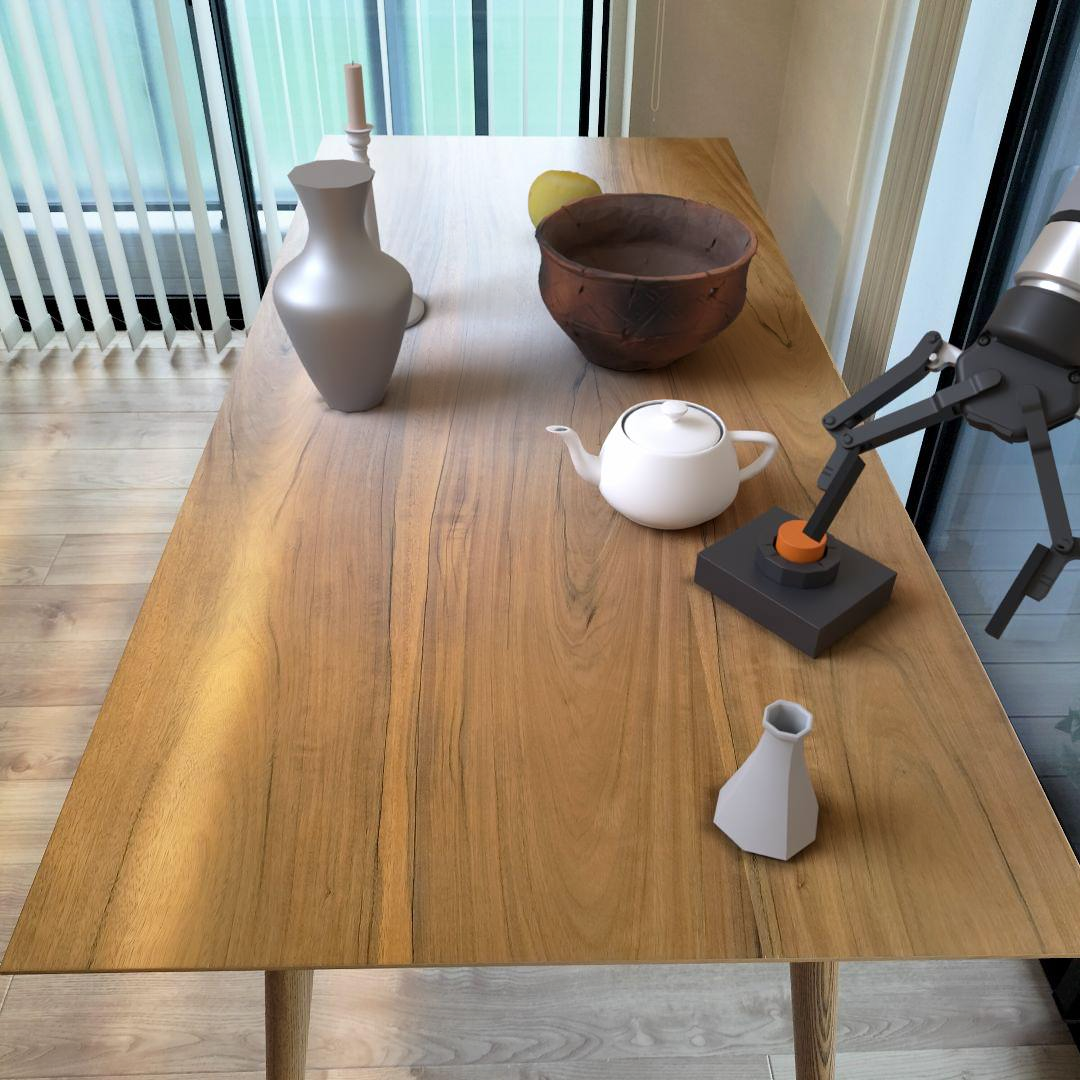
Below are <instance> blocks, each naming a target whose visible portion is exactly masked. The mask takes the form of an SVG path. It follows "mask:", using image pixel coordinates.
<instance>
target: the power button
mask: <svg viewBox="0 0 1080 1080" xmlns="http://www.w3.org/2000/svg"><path fill="white" fill-rule="evenodd" d="M803 520H804V519H802V520H793V521H788V522H786V523H784V524H782V525H781V527H780V528H779V531H778V537H777V542H776V550H777V552H778V554H779V555H780V556H782V557H784V558H786V559H787V560H789V561H793V562H798V563H803V564H807V563H815V562H817V561H819V560H820V559H821V558H822V557H823V554H824V549H825V545H826V540H827V536H826V533H825V535H824V537H823V538H822V540H821V542H820V543H818V542H816V541H814V540H813V539H811V538H809V537H808V536H807V535H805V534H804V533H803V532H802V531H803V529H804V527H805V526H806V524H807V522H808V521H809V520H804V521H803Z"/></svg>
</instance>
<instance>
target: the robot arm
mask: <svg viewBox="0 0 1080 1080" xmlns="http://www.w3.org/2000/svg"><path fill="white" fill-rule="evenodd" d="M1013 283H1014V286H1013V287H1011V288H1008V289H1006V290H1005V292H1004V293H1003V295H1002V296H1001V298H1000V300H999V301H998V303H997V305H996V307H995V308H994V310H993V312H992V313H991V315H990V316H989V318H988V320H987V322H986V324H985V325H984V327H983V328H982V330H981V332H980V333H979V334H978V337H977V338H976V340H975V341H974V343H972V345H971V346H969V347H968V348H967V349H965V350H961V349H960V348H958V347H957V346H954V345H953V344H951V343H949V342H947V341H945V340H944V339H943V338H942V334H941V333H940V332H939V331H936V330H929V331H927V332H926V333H925V334H924V335H923V337H922V338H921V339H920V340H919V342H918V343H917V345H916V346H915V347H914V349H913V350H912V351H911V352H910V354H908V356H906V357H905V358H903V359H901V360H900V361H899V362H898V363H896V364H895V365H893V366H892V367H890V368H889V369H888V370H886V371H884V372H883V373H881V375H879V376H878V377H876V378H875V379H874V380H872V381H871V382H869V383H868V384H866V385H865V386H864V387H862V388H861V389H859V390H858V391H857V392H855V393H853V394H852V395H851V396H850V397H848V398H846V399H845V400H844V401H842V402H841V403H840V404H838V405H837V406H835V407H834V408H832V409H831V410H829V411H828V412H827V413H825V414H824V415H823V416H822V418H821V424H822V427H823V428H824V429H825V430H826V431H827V433H828V434H829V436H831V437H832V438H833V439H834V441H835V448H834V450H833V451H832V454H831V455H830V456H829V459H828V460H827V462H826V464H825V466H824V467H823V468H822V471H820V474H819V476H818V477H817V481H816V487H817V488H818V489H819V490H820V491H822V492H824V493H823V495H822V497H821V498H820V500H819V502H818V504H817V505H816V507H815V508H814V511H812V514H811V516H810V517H809V519H808V520H807V521H808V522H807V524H806V526H805V527H804V529H803V531H802V532H803V533H804V534H805V535H807V536H808V537H809V538H811V539H813V540H814V541H816V542H818V543H820V542H821V540H822V538H823V537H824V535H825V533H826V532H828V531H829V528H830V527H831V525H832V523H833V522H834V521H835V519H836V516H837V515H838V514H839V512H840V510H841V508H842V507H843V505H844V503H845V501H846V500H847V498H848V496H849V495H850V493H851V491H852V489H853V488H854V486H855V484H856V483H857V481H858V480H859V477H860V476H861V475H862V472H863V471H864V469H865V468H866V466H867V464H866V463H865V461H864V460H863V459H862V457H861V456H860V455H862V454H865V453H868V452H870V451H873V450H874V449H877V448H879V447H882V446H885V445H887V444H890V443H892V442H894V441H897V440H900V439H902V438H904V437H907V436H910V435H912V434H915V433H917V432H920V431H922V430H925V429H927V428H930V427H933V426H934V425H937V424H939V423H943V422H951V421H953V420H955V419H958V418H960V417H963V419H964V420H965V421H966V422H967V423H968V426H970V427H972V428H974V429H977V430H979V431H984V432H989V433H993V434H994V436H996V437H997V438H999V439H1000V440H1001V441H1004V442H1005V443H1008V444H1010V445H1013V444H1023V443H1026V442H1028V444H1029V447H1030V448H1029V449H1030V453H1031V457H1032V462H1033V466H1034V470H1035V474H1036V478H1037V484H1038V487H1039V491H1040V497H1041V500H1042V504H1043V505H1042V506H1043V510H1044V513H1045V518H1046V521H1047V527H1048V531H1049V535H1050V539H1051V545H1050V547H1048V546H1046V545H1044V544H1042V543H1040V542H1037V543H1036V544H1035V546H1034V548H1033V550H1032V551H1031V553H1030V554H1029V556H1028V558H1027V560H1026V561H1025V562H1024V564H1023V566H1022V567H1021V569H1020V571H1019V573H1017V576H1016V577H1015V578H1014V581H1013V582H1012V584H1011V585H1010V587H1009V589H1008V591H1007V592H1006V594H1005V595H1004V597H1003V599H1002V600H1001V601H1000V603H999V605H998V607H997V608H996V610H995V611H994V613H993V615H992V616H991V618H990V619H989V622H988V623H987V625H986V626H985V628H984V630H983V631H984V632H985V633H986V634H987V635H988V636H990V637H992V638H994V639H996V640H998V641H1000V638H1001V636H1002V635H1003V633H1004V632H1005V630H1006V628H1007V627H1008V625H1009V624H1010V622H1011V620H1012V619H1013V617H1014V615H1015V613H1016V612H1017V611H1018V609H1019V608H1020V605H1021V604H1022V603H1023V600H1024V599H1025V597H1026V596H1027V598H1028V597H1029V598H1030V599H1032V600H1035V601H1036V602H1038V603H1040V602H1041V601H1043V600H1044V599H1045V598H1047V597H1048V595H1049V593H1050V592H1051V590H1052V589H1053V587H1054V585H1055V583H1056V582H1057V580H1058V579H1059V577H1060V575H1061V574H1062V572H1063V570H1064V569H1065V567H1066V565H1067V564H1068V563H1071V562H1073V561H1079V560H1080V537H1079V536H1073V533H1072V528H1071V524H1070V520H1069V515H1068V512H1067V507H1066V503H1065V502H1066V501H1065V498H1064V495H1063V490H1062V485H1061V481H1060V477H1059V472H1058V469H1057V465H1056V459H1055V456H1054V452H1053V451H1054V450H1053V448H1052V443H1051V438H1050V433H1049V432H1051V431H1054V430H1055V429H1057V428H1060V427H1061V426H1065V425H1066V424H1068V423H1071V422H1072V421H1074V420H1075V419H1076V420H1078V421H1080V166H1079V167H1078V168H1077V170H1076V172H1075V173H1074V175H1073V177H1072V179H1071V180H1070V182H1069V184H1068V186H1067V187H1066V189H1065V191H1064V193H1063V194H1062V196H1061V198H1060V199H1059V201H1058V202H1057V204H1056V207H1055V208H1054V210H1053V211H1052V213H1051V215H1050V217H1049V218H1048V220H1047V222H1046V224H1045V225H1044V227H1043V228H1042V230H1041V232H1040V233H1039V235H1038V237H1037V238H1036V240H1035V242H1034V243H1033V244H1032V246H1031V248H1030V249H1029V252H1028V253H1027V254H1026V256H1025V258H1024V259H1023V261H1022V262H1021V265H1020V266H1019V268H1018V269H1017V270H1016V273H1015V274H1014V276H1013ZM947 367H953V368H954V373H955V380H956V382H955V384H952V385H949V386H946V387H945V388H943V389H940V390H938V391H936V392H934V393H933V395H931V396H929V397H927V398H924V399H922V400H920V401H917V402H914V403H912V404H909V405H907V406H904V407H902V408H900V409H898V410H894V411H893V412H890V413H888V414H885V415H883V416H881V417H878V418H876V419H874V420H871V421H868V422H865V423H864V424H861V423H863V422H864V421H866V420H867V419H869V418H870V417H871V416H873V415H874V414H876V413H877V412H879V411H880V410H882V409H883V408H885V407H886V406H888V405H889V404H890V403H892V402H893V401H894V400H896V399H898V397H900V396H901V395H903V394H904V393H906V392H908V391H909V390H911V389H912V388H914V386H916V385H917V384H918V383H919V384H920V382H921V381H923V380H924V379H925V378H926V377H928V375H930V373H931V372H932V373H934V374H935V373H939V372H942V371H943V370H944V369H945V368H947ZM860 424H861V425H860ZM858 425H859V426H858Z"/></svg>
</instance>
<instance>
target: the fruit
mask: <svg viewBox="0 0 1080 1080" xmlns="http://www.w3.org/2000/svg"><path fill="white" fill-rule="evenodd" d="M597 194H603V192H602V188H601V187H600V184H598V182H597V181H596V180H594V179H593V178H591V177H590V176H588V175H585V174H583V173H580V172H578V171H572V170H562V169H561V170H559V169H558V170H557V169H556V170H555V169H550V170H546V171H544V172H542V173H541V174H540V175H538V176H537V177H536V178H535V179H534V180H533V182H532V183H531V185H530V187H529V191H528V194H527V195H528V196H527V212H528V216H529V219H530V222H531V223H532V225H533V226H534V228H535V229H536V228H537V226H538V224H539V223H540V222H541V220H542V219H543V218H544V217H546V216H547V215H548V214H550V213H551V212H553V211H555V210H557V209H559V208H561V206H563V205H565V204H567V203H568V202H570V201H572V200H575V199H578V198H584V197H587V196H590V195H597Z"/></svg>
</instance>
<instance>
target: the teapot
mask: <svg viewBox="0 0 1080 1080" xmlns="http://www.w3.org/2000/svg"><path fill="white" fill-rule="evenodd" d="M545 430H546V431H547V432H549V433H552V434H553V435H555V436H557V437H559V438H561V439H562V441H563V442H564V443H565V445H566V447H567V449H568V451H569V454H570V457H571V460H572V464H573V467H574V469H575V472H576V473H577V474H578V475H579V477H580V478H581V479H582V480H583V481H585V482H586V483H588V484H589V485H591V486H594V487H598V489H599V491H600V494H601V495H602V497H603V498H604V500H605V501H606V502H607V503H608V505H610V506H611V507H612V508H613V509H614V510H616V511H617V512H618V513H619V514H622V516H624V517H626V518H627V519H629V520H630V521H632V522H634V523H637V524H638V525H642V526H644V527H648V528H652V529H658V530H673V531H674V530H684V529H688V528H694V527H695V526H698V525H701V524H703V523H705V522H708V521H710V520H712V519H714V518H716V517H718V516H719V515H721V514H722V513H723V512H724V511H726V509H728V508H729V507H730V506H731V505H732V504H733V502H734V501H735V498H736V496H737V494H738V491H739V487H740V483H743V482H746V481H747V480H749V479H751V478H753V477H755V476H757V475H759V474H760V473H761V472H762V471H764V470H765V469H766V468H767V467H769V466H770V464H771V463H772V462H773V461H774V460H775V458H776V456H777V455H778V451H779V441H778V439H777V437H776V436H775V435H774V434H771V433H770V432H766V431H761V430H728V428H727V426H726V424H725V422H724V421H723V419H722V418H721V417H720V416H719V415H718V414H717V413H715V412H713V410H711V409H709V408H707V407H705V406H703V405H700V404H697V403H693V402H690V401H686V400H680V399H653V400H648V401H647V400H646V401H644V402H639V403H637V404H634V405H632V406H631V407H629V408H628V409H627V410H625V411H624V412H623V413H622V414H621V415H620V416H619V418H618V419H617V421H616V422H615V423H614V425H613V427H612V428H611V430H610V432H609V433H608V435H607V437H606V438H605V440H604V443H603V444H602V446H601V449H600V452H599V455H595V454H591V453H589V452H587V451H586V450H585V448H584V447H583V444H582V441H581V439H580V437H579V435H578V433H577V432H576V431H575V430H574V429H572V428H570V427H569V426H565V425H549V426H546V428H545ZM734 443H758V444H759V443H760V444H765V448H764V450H763V452H762V453H761V454H760V455H759V457H757V459H755V460H754V461H753V462H752V463H750V464H748V465H747V466H746V467H744V468H742V469H740V467H739V466H740V465H739V460H738V456H737V455H738V454H737V452H736V449H735V446H734Z"/></svg>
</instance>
